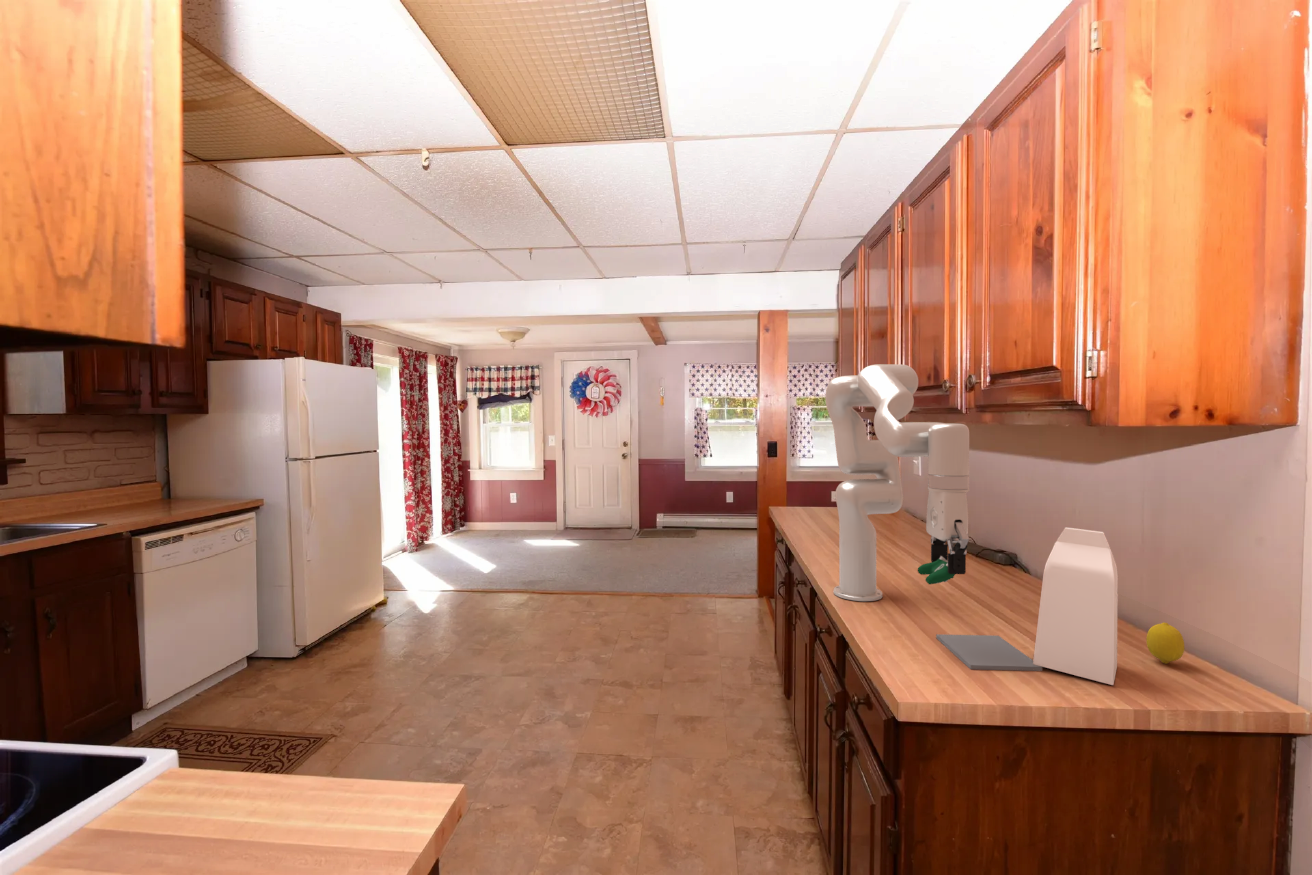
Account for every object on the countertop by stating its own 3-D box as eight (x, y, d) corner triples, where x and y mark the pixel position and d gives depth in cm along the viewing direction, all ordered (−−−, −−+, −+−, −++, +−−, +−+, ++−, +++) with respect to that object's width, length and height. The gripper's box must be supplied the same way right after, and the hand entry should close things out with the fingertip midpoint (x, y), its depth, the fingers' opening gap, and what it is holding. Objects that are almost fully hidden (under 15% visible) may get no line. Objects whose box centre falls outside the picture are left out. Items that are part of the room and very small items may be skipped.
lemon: (1139, 660, 113) (1140, 619, 112) (1156, 655, 115) (1157, 616, 115) (1173, 671, 108) (1174, 629, 107) (1190, 666, 110) (1191, 625, 109)
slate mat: (936, 637, 125) (936, 634, 125) (998, 639, 124) (998, 635, 124) (970, 669, 109) (970, 665, 109) (1042, 670, 108) (1042, 666, 108)
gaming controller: (939, 594, 114) (962, 575, 113) (924, 580, 115) (948, 560, 114) (928, 581, 123) (950, 563, 122) (914, 568, 124) (936, 550, 123)
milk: (1032, 663, 109) (1041, 528, 109) (1042, 647, 118) (1050, 522, 117) (1113, 685, 101) (1123, 539, 101) (1117, 666, 110) (1126, 531, 109)
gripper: (914, 479, 127) (913, 557, 127) (946, 488, 109) (945, 579, 110) (949, 479, 126) (949, 558, 127) (987, 488, 109) (986, 580, 109)
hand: (947, 567), depth 118 cm, fingers closed on gaming controller, 8 cm apart
